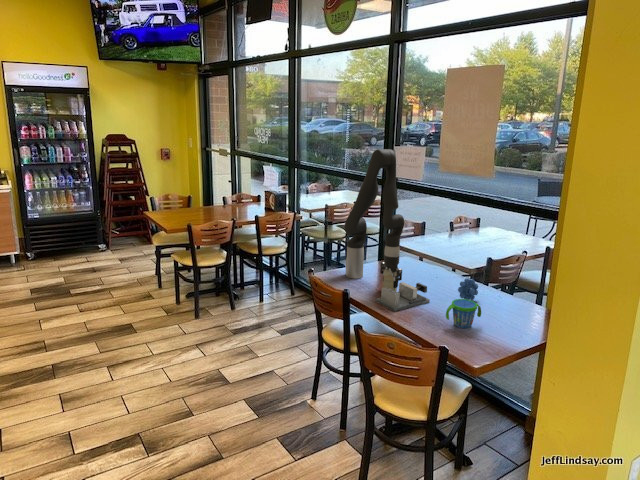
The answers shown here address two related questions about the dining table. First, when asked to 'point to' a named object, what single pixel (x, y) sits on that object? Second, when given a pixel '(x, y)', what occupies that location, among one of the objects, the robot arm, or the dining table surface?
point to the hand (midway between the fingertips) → (390, 285)
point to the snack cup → (463, 312)
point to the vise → (399, 300)
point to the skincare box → (389, 280)
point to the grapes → (468, 289)
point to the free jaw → (411, 290)
